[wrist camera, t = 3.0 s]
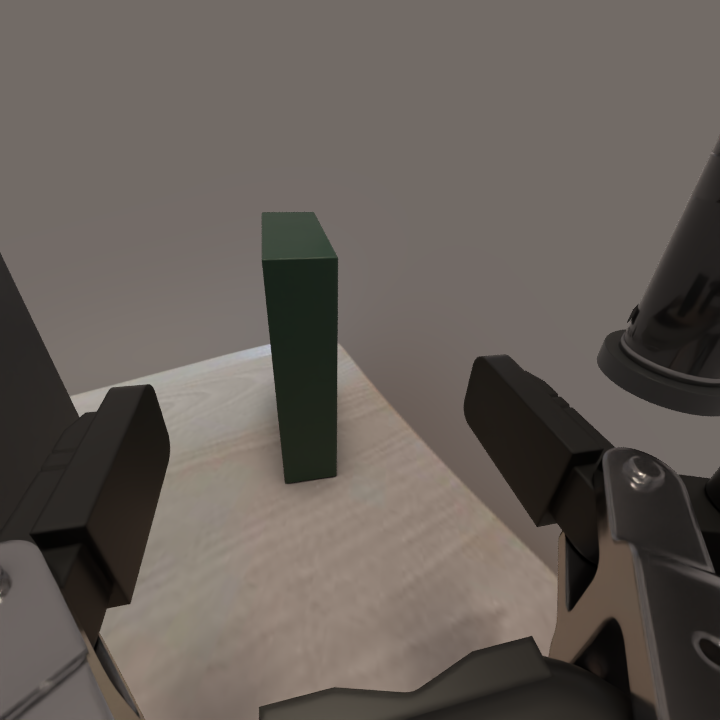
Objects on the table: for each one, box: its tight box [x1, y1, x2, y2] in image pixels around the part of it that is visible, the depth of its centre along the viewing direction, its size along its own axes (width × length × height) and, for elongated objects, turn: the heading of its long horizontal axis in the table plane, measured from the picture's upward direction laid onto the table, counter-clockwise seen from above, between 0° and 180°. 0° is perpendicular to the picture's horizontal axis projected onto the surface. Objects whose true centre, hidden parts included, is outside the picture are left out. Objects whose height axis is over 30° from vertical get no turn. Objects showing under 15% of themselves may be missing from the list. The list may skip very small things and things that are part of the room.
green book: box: [262, 212, 338, 483], centre depth 23 cm, size 3×9×14 cm, turn 12°
